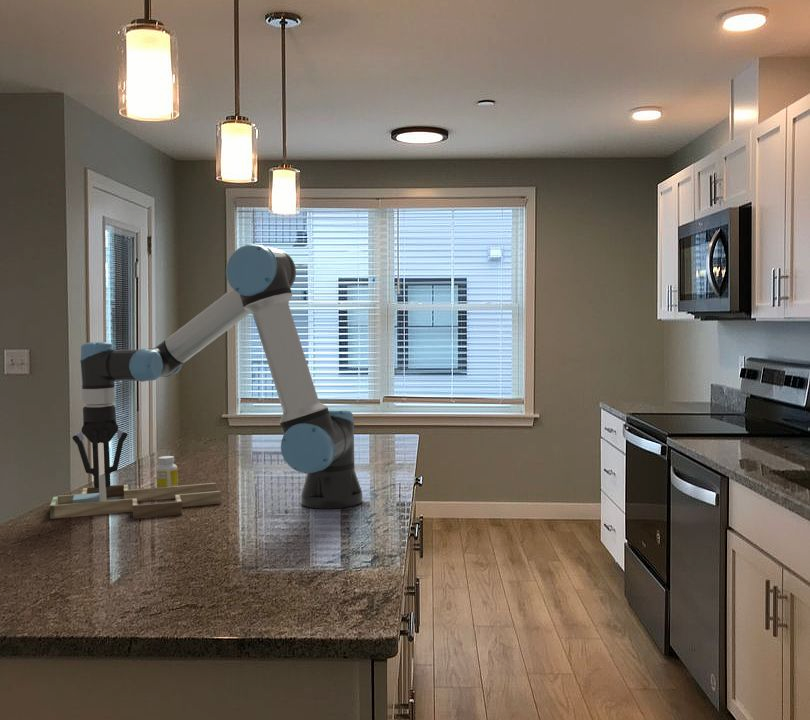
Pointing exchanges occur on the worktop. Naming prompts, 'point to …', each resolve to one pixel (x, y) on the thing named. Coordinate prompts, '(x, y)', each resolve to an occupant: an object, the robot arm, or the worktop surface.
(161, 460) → the supplement bottle
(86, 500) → the block
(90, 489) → the wooden frame tray
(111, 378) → the robot arm
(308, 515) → the worktop surface
